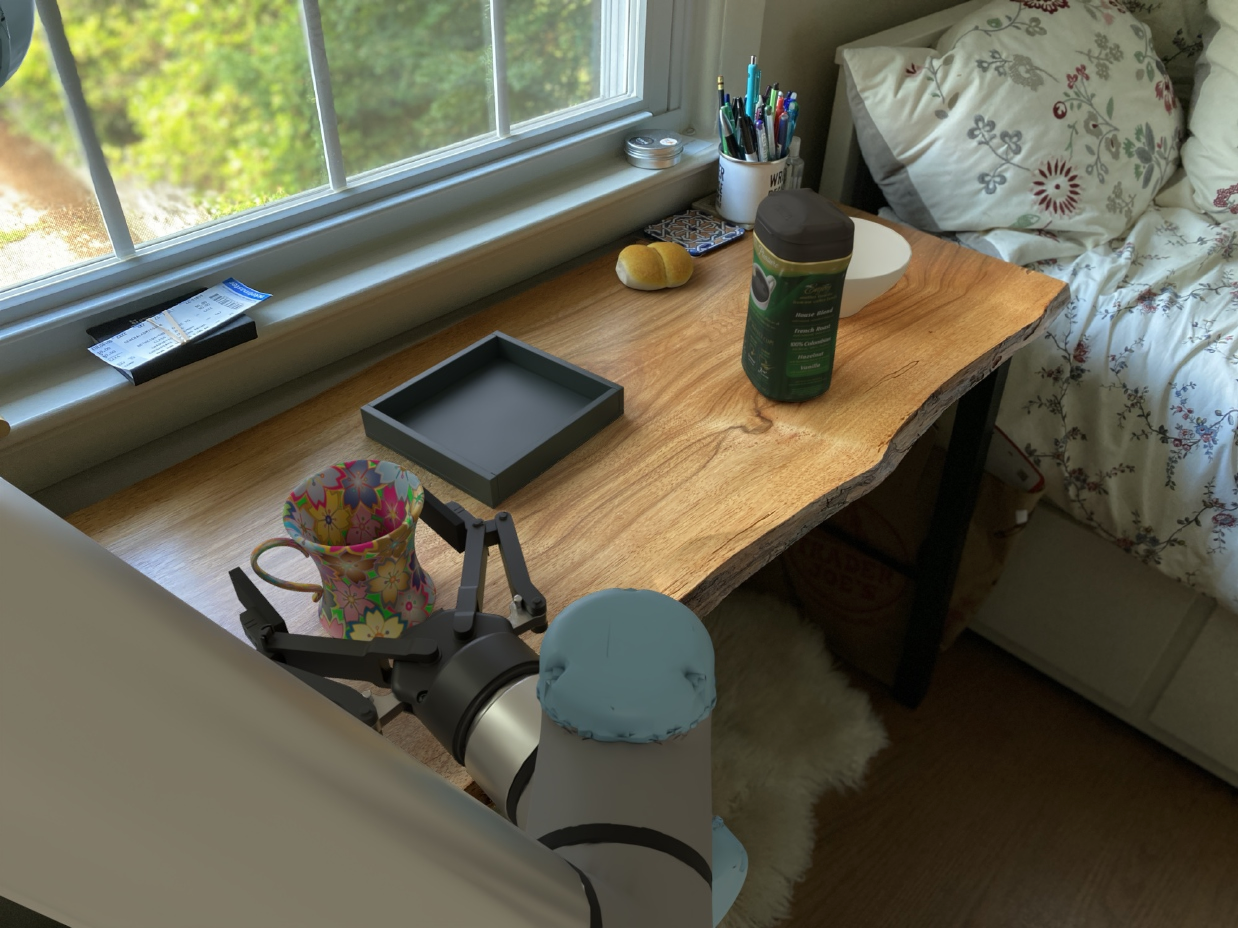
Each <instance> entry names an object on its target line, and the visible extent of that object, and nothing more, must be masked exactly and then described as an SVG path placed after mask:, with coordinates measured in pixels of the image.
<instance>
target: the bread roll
mask: <svg viewBox="0 0 1238 928" xmlns="http://www.w3.org/2000/svg"><path fill="white" fill-rule="evenodd" d="M617 258H618V259H617V262H616V266H615V271H616V272H615V273H616V274H617V277H618V279H619V280H620V281H621V282H622V283H623V284H624V285H625V286H626V287H629V288H631V289H634V290H641V291H655V290H662V289H665V288H677V287H681V286H684V285H685V284H686V283H687V282H688V281H689V279H690V278H691V277H692V275H693V272H694V260H693V258H692V255H691V254H690V252H689V251H688V249H686V248H685V247H684V246H682V245H681V244H679V243H676V242H671V241H657V242H652V243H650V244H648V245H644V244H630V245H628V246H626V247H625V248H623V249H622V250H621V252H619V255H618V257H617Z"/></svg>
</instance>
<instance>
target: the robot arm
mask: <svg viewBox="0 0 1238 928" xmlns="http://www.w3.org/2000/svg"><path fill="white" fill-rule="evenodd" d="M35 21H36V0H0V89H1V88H2V87H4V85H6V83H7V82H8V81H9V80H10V79H11V78H12V77H13V76H14V75H15V74H16V73H17V72H18V71H19V69H20V67H21V66H22V64H23V62H24V60H25V58H26V57H27V54H28V52H29V49H30V47H31V43H32V40H33V34H34V32H35V31H34V29H35ZM422 487H423V491H424V504H423V508H422V510H421V513H420V515H419V518H418V519H420V520H421V521H422V522H423V523H424V524H425V525H426V526H428V527H429V528H430V529H431V530H432V531H433V532H434V533H436V534H437V535H438V536H439V537H440V538H441V539H442V540H443V541H444V542H446V544H448V545H449V546H450V547H451V548H452V549H454V551H456V552H457V553H458V554H459V555H461V554H464V555H463V563H462V570H461V576H460V577H461V578H460V586H458V589H457V597H456V604H455V605H456V606H455V608H448V609H444V608H443V607H441V608H439V609H437V610H436V611H434V612H431V613H430V615H429V616H428V618H427V619H426V620H425V621H424V622H422V623H419V624H416V625H413V626H411V627H409V628H407V629H406V630H404V631H402V632H401V633H400V635H401V637H400V638H399V639H396V638H386V637H374V638H373V639H372V640H371V641H362V640H352V639H342V638H333V637H332V636H322V635H321V636H320V635H309V634H301V633H292V632H291V633H290V632H289V628H288V626H287V622H286V620H285V619H284V618H283V617H282V615H281V614H280V613H279V612H278V611H277V609H275V607H274V606H273V605H272V604H271V602H270V601H269V600H268V599H267V598H266V596H264V594H263V593H262V592H261V590H259V588H258V587H257V586H256V584H254V582H253V581H252V580H251V579H250V578H249V576H248V575H247V574H246V573H245V572H244V570H243V569H242V568H241V567H240V565H239V566H237V567H233V569H230V570H229V571H227V572H228V575H229V578H230V581H231V583H232V586H233V589H234V592H235V594H236V597H237V600H238V601H239V602H240V604H241V605H242V606H243V607H244V608H245V610H244V611H243V612H240V613H239V615H238V616H239V622H240V624H241V628H242V630H243V632H244V635H245V637H246V638H247V639H248V641H249V642H250V643H251V644H252V645H253V647H252V646H251V645H250V644H248V643H246V642H245V641H244V640H242V639H241V638H239V637H237V636H236V635H234V634H233V633H232V632H230V631H229V630H228V629H226V628H224V627H223V626H221V625H220V624H218V623H217V622H216V621H214V620H212V619H211V618H210V617H208V616H207V615H205V614H204V613H202V612H200V610H198V609H196V608H195V607H193V606H192V605H190V604H189V603H187V602H186V601H185V600H183V599H181V598H180V597H179V596H177V595H176V594H175V593H173V592H171V591H169V589H167V588H165V587H164V586H162V585H161V584H159V583H158V582H156V581H155V580H153V579H152V578H151V577H149V576H148V575H146V574H145V573H143V572H141V571H140V570H138V569H137V568H136V567H134V566H133V565H131V564H130V563H128V562H127V561H125V560H124V559H123V558H121V557H119V556H118V555H117V554H115V553H113V552H112V551H111V550H109V549H108V548H107V547H105V546H103V545H102V544H100V543H99V542H97V541H96V540H95V539H93V538H92V537H90V536H89V535H87V534H85V533H84V532H82V531H81V530H80V529H78V528H76V527H75V526H74V525H72V523H69V522H68V521H66V520H65V519H64V518H62V517H60V516H59V515H57V514H56V513H55V512H53V511H52V510H50V509H49V508H47V507H46V506H45V505H43V504H42V503H40V502H38V501H37V500H36V499H34V498H33V497H32V496H30V495H28V494H26V492H24V491H22V490H20V489H19V488H18V487H16V486H15V485H14V484H11V483H10V482H8V480H6V479H4V478H3V477H1V476H0V896H1V897H3V898H5V899H6V900H10V901H12V902H14V903H16V904H18V905H19V906H23V907H24V908H27V909H30V910H31V911H34V912H35V913H38V914H41V915H43V916H44V917H47V918H49V919H51V920H53V921H56V922H58V923H60V924H62V925H66V926H67V927H70V928H717V926H718V925H719V924H720V922H721V921H722V920H723V919H724V917H725V916H726V915H727V913H728V912H729V911H730V909H731V908H732V906H733V904H734V902H735V901H736V899H737V898H738V896H739V894H740V892H741V890H742V888H743V886H744V883H745V880H746V878H747V874H748V869H749V856H748V853H747V851H746V849H745V848H744V845H743V844H742V843H741V841H740V840H739V839H738V838H737V837H736V836H735V835H734V834H733V832H732V831H730V829H729V828H728V827H727V826H726V825H725V824H724V819H723V818H721V816H719V815H718V814H717V815H714V814H713V797H712V796H713V794H712V791H713V789H712V749H711V748H712V715H713V709H715V707H716V705H717V704H716V703H717V700H718V699H717V698H718V697H717V688H716V684H717V682H718V680H717V678H716V675H715V664H716V663H715V661H716V657H715V650H714V645H713V641H712V638H711V636H710V633H709V631H708V630H707V628H706V627H705V625H704V623H703V622H702V620H700V618H699V617H698V616H697V615H696V613H695V612H693V611H692V610H691V609H690V608H689V607H688V606H686V605H685V604H684V603H682V602H680V601H679V600H677V599H675V598H674V597H672V596H670V595H668V594H665V593H662V592H659V591H656V590H653V589H646V588H640V589H636V588H633V587H627V588H621V587H610V588H605V589H601V590H597V591H594V592H591V593H589V594H586V595H583V596H582V597H581V596H580V598H577V599H576V600H574V601H573V602H571V603H570V604H568V605H567V606H566V607H564V608H563V609H562V610H561V611H560V612H558V614H556V616H555V617H554V618H553V620H552V621H551V622H550V624H549V618H548V616H549V615H548V606H547V605H548V604H547V599H546V597H545V596H544V594H543V593H542V592H541V591H540V590H539V589H538V588H537V587H536V586H535V585H534V583H533V582H532V581H531V576H530V574H529V570H528V566H527V563H526V560H525V557H524V552H523V550H522V546H521V543H520V539H519V535H518V533H517V529H516V526H515V523H514V519H513V515H512V513H510V512H509V511H507V510H501V511H498V512H497V513H495V515H494V518H492V519H487V520H484V519H483V518H479V517H476V516H474V514H472V513H471V512H470V511H469V510H468V509H466V508H465V507H464V506H462V505H461V503H459V502H457V501H454V500H450V501H448V502H446V503H444V502H443V501H442V500H441V499H439V498H438V497H437V496H436V495H435V494H433V492H431V491H430V490H429V489H427V487H425V486H424V485H423V484H422ZM494 546H497V547H498V550H499V554H500V558H501V561H502V566H503V570H504V572H505V577H506V580H507V584H508V588H509V591H510V596H511V599H512V601H511V602H510V604H509V612H510V614H509V616H508V617H506V616H504V615H500V614H493V613H487V612H483V608H484V598H485V588H486V578H487V568H488V558H489V557H490V549H489V548H491V547H494ZM529 631H531V632H532V633H533V634H536V635H541V634H543V637H542V640H541V643H540V648H539V654H538V653H537V652H536V651H535V650H534V649H533V648H532V647H531V646H530V645H529V644H527V642H525V641H524V640H523V639H522V638H521V637H520V636H521V635H523V634H525V633H526V632H529ZM390 660H392V666H391V664H390ZM333 679H337V680H348V681H357V682H367V683H371V684H373V685H374V686H375V687H377V688H379V689H386V690H390V693H388V694H386V695H378V694H376V693H372V690H370V689H365V690H363V691H362V692H359V691H358V690H357V689H355V688H354V687H351V686H349V685H347V684H345V683H343V682H339V681H337V680H336V681H335V680H333ZM402 713H405V714H407V715H412V716H414V717H415V718H417V719H418V720H419V721H420V722H421V723H422V724H423V726H424V727H425V728H426V729H427V730H428V732H430V734H431V735H432V736H433V737H434V738H435V739H436V740H437V741H438V743H439V744H440V745H441V746H442V747H443V748H444V749H445V751H447V752H448V754H449V755H450V757H452V758H453V760H455V761H456V763H458V765H459V766H461V767H464V768H465V771H466V773H467V774H468V775H469V776H470V778H471V779H472V780H473V781H474V782H475V783H476V785H478V787H479V788H480V789H481V790H482V792H484V793H485V795H487V797H488V798H489V799H490V800H491V801H492V802H493V804H494V805H496V807H497V808H498V809H499V811H500V812H501V813H502V814H503V815H504V816H505V817H503V816H502V815H500V814H499V813H498V812H496V811H495V810H493V809H492V808H491V807H489V806H487V805H486V804H484V803H483V802H482V801H480V800H478V799H477V798H476V797H474V796H472V795H471V794H469V792H467V791H465V790H464V789H462V788H461V787H460V786H458V785H456V784H455V783H453V782H452V781H450V780H449V779H448V778H446V777H445V776H443V775H441V774H440V773H438V772H437V771H436V770H434V769H433V768H431V767H430V766H428V765H427V764H425V763H424V762H423V761H421V760H419V759H418V758H417V757H415V756H414V755H412V754H410V753H409V752H407V751H406V750H404V748H401V747H400V746H399V745H397V744H396V743H394V742H393V741H391V740H390V739H388V738H387V737H385V736H384V732H383V728H385V727H386V726H387V725H388V724H389V723H391V722H392V721H393V720H395V719H396V718H397V717H399V716H400V715H401V714H402Z"/></svg>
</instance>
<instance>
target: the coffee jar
mask: <svg viewBox="0 0 1238 928" xmlns="http://www.w3.org/2000/svg"><path fill="white" fill-rule="evenodd" d="M849 217H850V216H849V215H848V214H847V213H846V212H844V210H842V209H841V208H839V206H838V205H836V204H835V203H834V202H833V201H831V200H830V199H829V198H826V197H824V196H823V195H821V194H820V193H818V192H815V191H814V190H813V189H812V188H810V187H804V188H803V187H802V188H790V189H779V190H772V191H770V192H769V193H768V194H767V195H766V196H765V197H764V198H763V199H762V200H761V201H760V203H759V204H758V206H757V209H756V213H755V218H754V224H753V231H752V233H753V234H752V245H753V246H752V247H753V249H752V250H753V251H752V253H753V255H752V269H751V270H752V271H751V278H750V279H751V282H750V289H749V295H748V303H747V304H748V305H747V312H746V313H747V314H746V322H745V326H744V327H745V328H744V335H743V342H742V350H741V359H740V361H741V362H740V363H741V366H742V368H743V371H744V374H745V375H746V377H747V379H748V380H749V382H750V383H751V384H752V385H753V387H754V389H755V390H756V391H758V393H759V394H760V395H762V396H763V397H764V398H766V399H768V400H771V401H777V402H778V401H779V402H789V403H801V402H806V401H809V400H814V399H815V398H819V397H820V396H823V395H824V394H826V393H827V392H828V391H829V390H830V389H831V385H832V379H833V371H834V365H835V358H836V357H835V356H836V349H837V339H838V338H837V337H838V331H839V323H840V318H839V316H840V309H841V302H842V294H843V288H844V282H845V277H846V273H847V269H848V266H849V264H850V261H851V258H852V254H853V245H854V231H855V224H854V222H853V221H852V219H850V218H849Z"/></svg>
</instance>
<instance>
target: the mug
mask: <svg viewBox="0 0 1238 928" xmlns="http://www.w3.org/2000/svg"><path fill="white" fill-rule="evenodd" d="M422 485H423V484H422V483H421V481H420V479H419V478H418V477H417V475H415V474H414V473H413V472H412V471H411V470H409V469H408V468H406V467H404V466H402V465H400V464H397V463H394V462H391V461H387V460H380V459H357V460H350V461H349V460H348V461H345V462H340V463H337V464H334V465H331V466H327V467H325V468H323V469H320V470H318V471H317V472H315V473H313V474H311V475H309V476H308V477H306V478H305V479H304V480H303V481H301V482H300V483H299V484H297V486H296V487H294V489H293V490H292V491H291V493H290V494H289V495H288V496H287V499H286V500H285V503H284V505H283V509H282V523H283V526H284V529H285V531H286V532H287V534H288V535H289V536H290V537H291V538H290V537H274V538H270V539H267V540H265V541H262V542H261V543H259V544H258V545H256V547H255V548H254V549H253V550H252V551H251V553H250V558H249V563H250V566H251V569H252V571H253V572H254V574H255V575H256V576H257V577H259V578H260V579H261V580H263V581H264V582H266V583H267V584H269V585H271V586H274V587H277V588H280V589H282V590H287V591H291V592H296V593H297V592H298V593H313V594H312V596H311V601H312V602H313V603H315V604H317V603H318V609H317V613H318V619H319V622H320V624H321V626H322V628H323V629H324V630H325V632H326V633H327V634H328V635H329V636H330V637H332V638H342V639H352V640H362V641H371V640H372V639H373V638H374V637H386V638H396V639H399V638H400V637H401V635H400V633H401V632H402V631H404V630H406V629H407V628H409V627H411V626H413V625H416V624H419V623H422V622H424V621H425V620H426V619H427V618H428V617H429V616H430V615H431V614H432V612H433V609H434V606H435V603H436V598H437V597H436V596H437V590H436V589H437V588H436V585H435V583H434V580H433V579H432V577H431V575H430V574H429V573H428V572H427V571H426V570H425V569H424V568H423V567H422V566H421V564H420V562H419V559H418V556H417V552H416V544H415V543H416V541H415V540H416V531H417V525H418V521H419V519H420V518H419V515H420V513H421V510H422V508H423V504H424V491H423V487H422ZM279 547H287V548H293V549H295V550H297V551H299V552H300V553H302V554H303V556H304V557H305V558H306V559H308V558H311V560H312V561H313V562H314V564H315V566H316V568H317V570H318V572H319V576H320V578H321V584H322V585H320V584H317V583H304V582H294V581H288V580H286V579H285V580H284V579H281V578H279V577H277V576H274V575H271V574H270V573H268V572H266V571H265V570H263V568H261V567H260V566H259V564H258V560H259V557H260V556H261V555H263V553H265V552H267V551H269V550H271V549H274V548H279Z"/></svg>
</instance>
